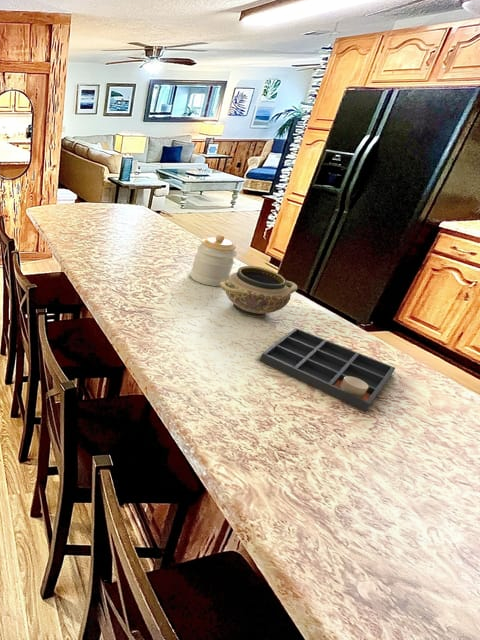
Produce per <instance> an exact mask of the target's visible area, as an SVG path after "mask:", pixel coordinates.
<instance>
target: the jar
mask: <svg viewBox="0 0 480 640" xmlns="http://www.w3.org/2000/svg"><path fill="white" fill-rule="evenodd" d="M200 243H201V244H199V245H197V247H196V249H197V252H196V253H195V255H194V259H193V262H192V266H191V269H190V277H191V279H193V280H194V281H196V282H197V283H200V284H203V285H206V286H213V287H220V283H221V282H222V281H226V279H227V278H228V277H229V276H230V275H231V271H232V269H233V265H234V263H235V261H234V258H235V257H236V256H237V252H236V248H237V246H236V245H235V244H234V243H233V242H232V241H231V240H229V239H226V238H225V236H224V235H223V234H218V235H216V237H215V236H210V237H209V236H208V237H207V238H204V239H202V240H201V242H200Z"/></svg>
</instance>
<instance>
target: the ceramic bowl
mask: <svg viewBox="0 0 480 640" xmlns="http://www.w3.org/2000/svg"><path fill="white" fill-rule="evenodd" d="M288 286H289V287H288ZM219 288H221V289H222V291H224V292H225V295H226V297H227V298H228V299H229V301H230V302H231V303H232V307H233V309H234V311H236V312H238V313H239V314H242V315H245V316H248V317H252V318H264V317H265V316H266V315H267V314H271V313H275V312H277V311H281V310H282V309H283V308H285V307H286V306H287V305H288V303H289V302H290V300H291V298H292V297H291V296H292V295H291V294H293V293H295V292H296V291H298V285H297V284H296V283H295V282H293V281H289V280H287V279H286V278H285V277H284V276H283V275H282V274H280V273H278V272H276V271H275V270H271V269H268V268H266V267H261V266H254V265H243V266H241V267H239V268H238V269H237V271H236V272H234V273H230V275H229V277H228V278H227V279H226V281H222V282H221V283H220V286H219Z"/></svg>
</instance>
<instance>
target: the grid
mask: <svg viewBox="0 0 480 640" xmlns="http://www.w3.org/2000/svg"><path fill="white" fill-rule="evenodd" d="M259 362H261V363H263V364H265V365H267V366H269V367H271V368H273V369H276V370H278V371H279V372H281V373H284V374H286V375H288V376H290V377H292V378H294V379H296V380H298V381H300V382H302V383H304V384H306V385H309V386H310V387H313V388H314V389H317V390H319V391H321V392H323V393H325V394H327V395H329V396H331V397H334V398H335V399H337V400H339V401H342V402H344V403H346V404H347V405H350V406H352V407H353V408H356V409H358V410H360V411H362V412H364V413H366V412H367V411H368V409H369V408H370V406H371V405H372V404H373V402H374V401H375V399H376V398H377V397H378V395H379V393H380V392H381V391H382V389H383V388H384V386H385V385H386V383H387V382H388V381H389V379H390V378H391V376H392V375H393V373H394V371H395V370H396V367H395V366H393V365H390V364H387V363H385V362H382V361H380V360H377V359H375V358H373V357H370V356H368V355H365V354H362V353H360V352H357V351H355V350H353V349H350V348H348V347H345V346H343V345H340V344H337V343H335V342H332V341H330V340H328V339H325V338H323V337H320V336H318V335H315V334H314V333H313V334H312V333H311V332H307V331H305V330H303V329H300V328H298V327H294V328H293V329H292V330H290V331H289V332H288V333H287V334H286V335H284V336H283V337H282V338H280V339H279V340H278V341H277V342H275V343H274V344H273V345H271V346H270V347H269V348H267V349H266V350H265V351H264V352H263V353H261V355H260V358H259ZM346 376H352V377H356V378H358V379H360V380H362V381H364V382H365V383H367V385H368V389H367V391H366V393H365V395H364V396H363V398H359V397H357V396H355V395H353V394H351V393H349V392H347V391H344V390H342V389H340V388H339V386H340V385H341V383H342V381H343V379H344V377H346Z"/></svg>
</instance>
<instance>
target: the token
mask: <svg viewBox="0 0 480 640" xmlns="http://www.w3.org/2000/svg"><path fill="white" fill-rule="evenodd" d="M339 388H340V389H342V390H344V391H347V392H349V393H351V394H353V395H355V396H357V397H359V398H363V396H364V395H365V393H366V391H367V389H368V385H367V383H365V382H364V381H362V380H360V379H358V378H356V377H352V376H346V377H344V379H343V381H342V383H341V385H340V386H339Z"/></svg>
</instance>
